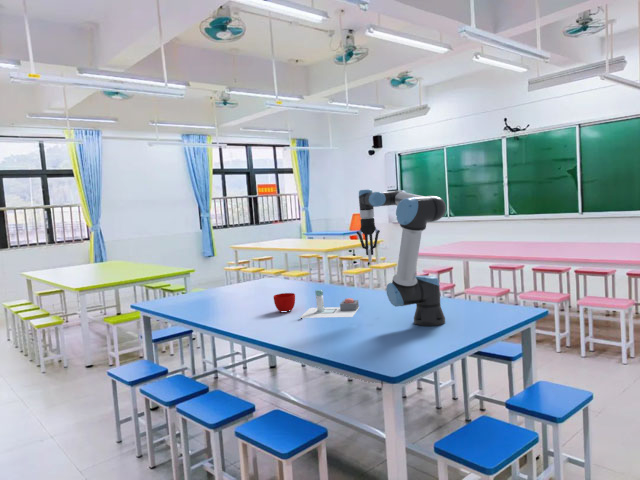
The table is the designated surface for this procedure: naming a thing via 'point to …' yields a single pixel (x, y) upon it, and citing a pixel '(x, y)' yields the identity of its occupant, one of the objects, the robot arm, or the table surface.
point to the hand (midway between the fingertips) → (370, 261)
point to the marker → (319, 300)
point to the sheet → (327, 313)
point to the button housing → (349, 306)
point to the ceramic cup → (284, 301)
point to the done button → (349, 300)
